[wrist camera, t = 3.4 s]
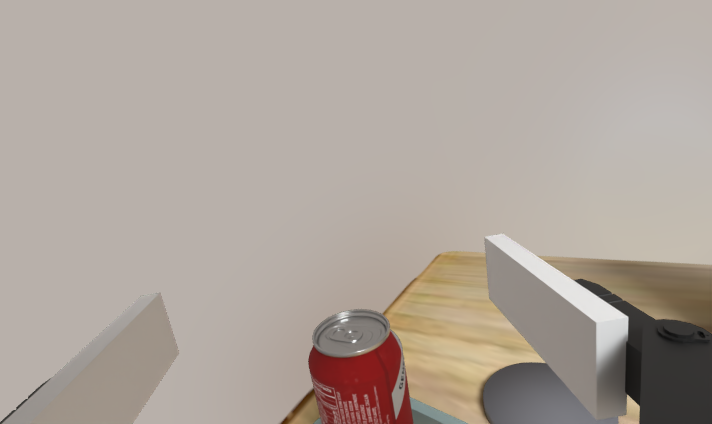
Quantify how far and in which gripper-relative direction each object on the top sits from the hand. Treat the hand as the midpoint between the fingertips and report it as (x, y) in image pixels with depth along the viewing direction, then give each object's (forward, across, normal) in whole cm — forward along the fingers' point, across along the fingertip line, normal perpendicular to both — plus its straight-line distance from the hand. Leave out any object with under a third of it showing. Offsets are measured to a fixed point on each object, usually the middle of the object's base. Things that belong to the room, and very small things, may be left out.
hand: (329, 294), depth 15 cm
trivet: (+12, +15, -20) cm, 27 cm away
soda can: (+10, 0, -20) cm, 22 cm away
